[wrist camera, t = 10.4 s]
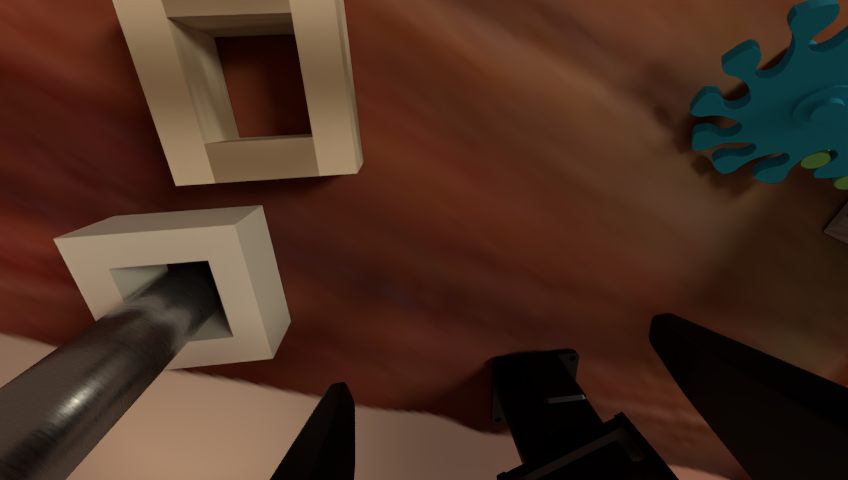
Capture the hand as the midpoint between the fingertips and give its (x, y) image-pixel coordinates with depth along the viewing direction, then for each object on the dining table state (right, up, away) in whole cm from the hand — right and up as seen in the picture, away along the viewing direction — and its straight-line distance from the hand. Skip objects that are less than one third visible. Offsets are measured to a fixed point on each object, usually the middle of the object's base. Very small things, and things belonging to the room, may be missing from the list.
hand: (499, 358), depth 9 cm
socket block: (-15, +1, +10) cm, 18 cm away
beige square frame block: (-10, +11, +7) cm, 16 cm away
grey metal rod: (-15, +1, +10) cm, 18 cm away
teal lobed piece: (+17, +11, +10) cm, 23 cm away
